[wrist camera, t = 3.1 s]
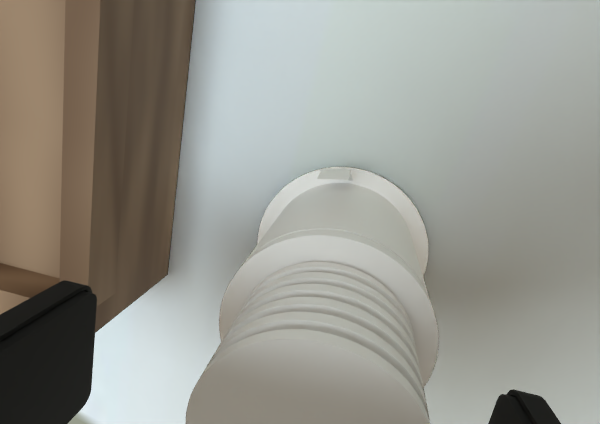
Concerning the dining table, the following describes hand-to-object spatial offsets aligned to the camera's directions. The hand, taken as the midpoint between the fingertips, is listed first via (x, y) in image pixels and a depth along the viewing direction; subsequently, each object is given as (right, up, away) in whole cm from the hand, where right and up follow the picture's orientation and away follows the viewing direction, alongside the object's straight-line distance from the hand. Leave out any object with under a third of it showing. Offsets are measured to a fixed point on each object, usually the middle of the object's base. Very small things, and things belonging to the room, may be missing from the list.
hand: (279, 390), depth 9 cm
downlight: (+2, +2, +8) cm, 8 cm away
